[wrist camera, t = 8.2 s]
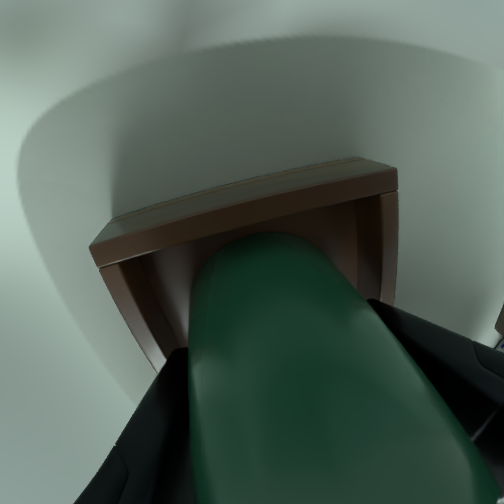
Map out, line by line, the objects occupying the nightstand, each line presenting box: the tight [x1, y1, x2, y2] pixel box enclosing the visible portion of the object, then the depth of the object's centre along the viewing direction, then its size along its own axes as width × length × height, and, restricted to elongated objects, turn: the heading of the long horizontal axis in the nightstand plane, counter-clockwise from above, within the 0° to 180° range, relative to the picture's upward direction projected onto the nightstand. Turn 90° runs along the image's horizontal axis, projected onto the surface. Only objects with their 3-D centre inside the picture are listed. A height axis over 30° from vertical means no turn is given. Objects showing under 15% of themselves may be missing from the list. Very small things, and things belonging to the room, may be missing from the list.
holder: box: [89, 157, 399, 374], centre depth 8 cm, size 8×8×2 cm
